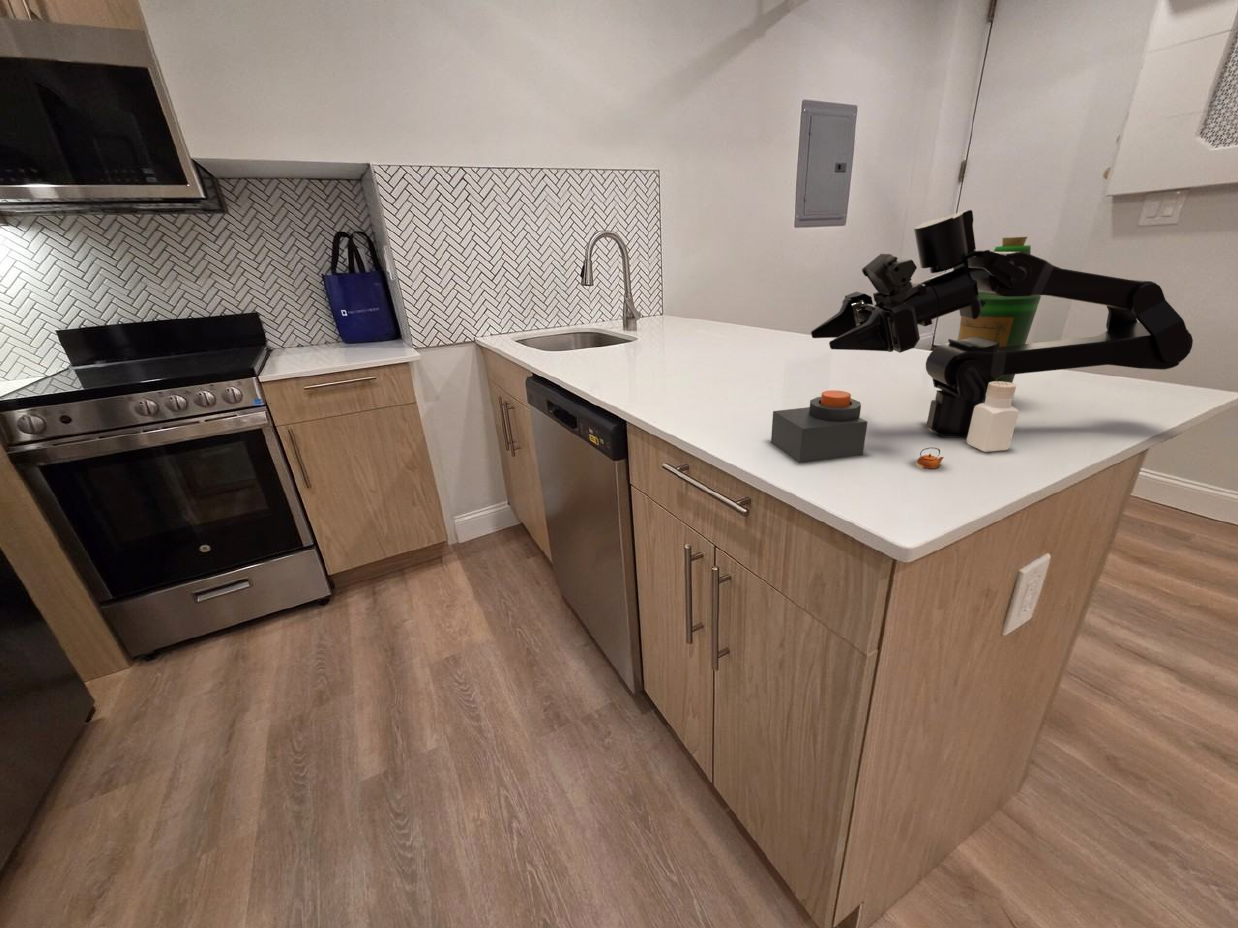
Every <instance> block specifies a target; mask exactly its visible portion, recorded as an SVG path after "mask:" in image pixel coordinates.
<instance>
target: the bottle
mask: <svg viewBox="0 0 1238 928" xmlns="http://www.w3.org/2000/svg"><path fill="white" fill-rule="evenodd" d="M1027 240H1028V236H1015V237H1014V236H1013V237H1010V236H1009V237H1002V241H1001V246H999V245H998V246H995V247H994V250H993V252H1025V253H1028V254H1031V252H1032V251H1031V250H1032V249H1031V247H1032V245H1031V244H1025V243H1026V241H1027ZM1031 255H1032V254H1031ZM978 295H979V298H980V300H982V301H985V302H986V304H985V305H984V306H983V308H982V310H981V313H980V314H979V316H978V318H977V319H970V318H965V317H961V316H960V321H959V322H960V323H959V329H958V337H957V340H963V339H967V338H971V337H980V338H984V339H987V340H991V341H994V342H998V343H1000V345H999V347H1004V346H1013V345H1022V344H1027V340H1028V337H1029V334H1030V330H1031V328H1032V324H1033V321H1034V318H1035V315H1036V313H1037V310H1038V307H1039V303H1040V301H1041V298H1042V295H1037V296H1011V297H1007V296H998V295H991V294H984V293H978ZM1015 376H1016V374H1013V375H1005V376H1002V377H1000V378H998V379H996V381H1003V382H1010V383H1014V379H1015Z"/></svg>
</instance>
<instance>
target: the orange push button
mask: <svg viewBox="0 0 1238 928" xmlns="http://www.w3.org/2000/svg"><path fill="white" fill-rule="evenodd" d="M820 395H821V396H820V397H821V403H820V404H821V405H824V406H829V407H847V406H850V399H852V394H851V393H850V392H849V391H844V390H839V389H838V390H837V389H836V390H835V389H833V390H832V389H831V390H824V391H822V392H821V394H820Z"/></svg>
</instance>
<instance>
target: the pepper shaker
mask: <svg viewBox="0 0 1238 928" xmlns="http://www.w3.org/2000/svg"><path fill="white" fill-rule="evenodd" d="M1016 388H1017V384H1016V383H1014V382H1012V383H1010V382H1003V381H993V382H989V384H988V388H987V392H986V399H985V403H981V404H978V405H976V406H975V407H974V411H973V415H972V419H971V424H970V428H969V432H968V437H966V443H967V445H969V446H971V447H974V448H975V449H978V450H980V451H982V452H984V453H988V452H998V451H1007V450H1009V448H1010V446H1011V443H1012V438H1013V436H1014V432H1015V427H1016V424H1017V420H1018V417H1019V409H1017V408H1016V407H1015V406H1013V405H1012V402H1013V399H1014V397H1015V393H1016Z"/></svg>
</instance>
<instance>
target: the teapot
mask: <svg viewBox="0 0 1238 928" xmlns="http://www.w3.org/2000/svg"><path fill="white" fill-rule="evenodd" d="M929 449H932V450H933V449H934V450H937V451H938V455H937V456H935V455H932V454H931V453H929V454H924V455H922V452H924V451H925V450H929ZM940 454H941V449H940V448H938V447H926V448H923V449H922V450H921V451H920V452H919V455H920V457H919V458H917V460H916V463H915V464H916V466H917V467H918V468H920V469H924V470H934V469H937V468H939V467H940V465H941V463H942V461H943V459H944V458H945V457H944V456H940ZM939 456H940V457H939Z"/></svg>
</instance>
